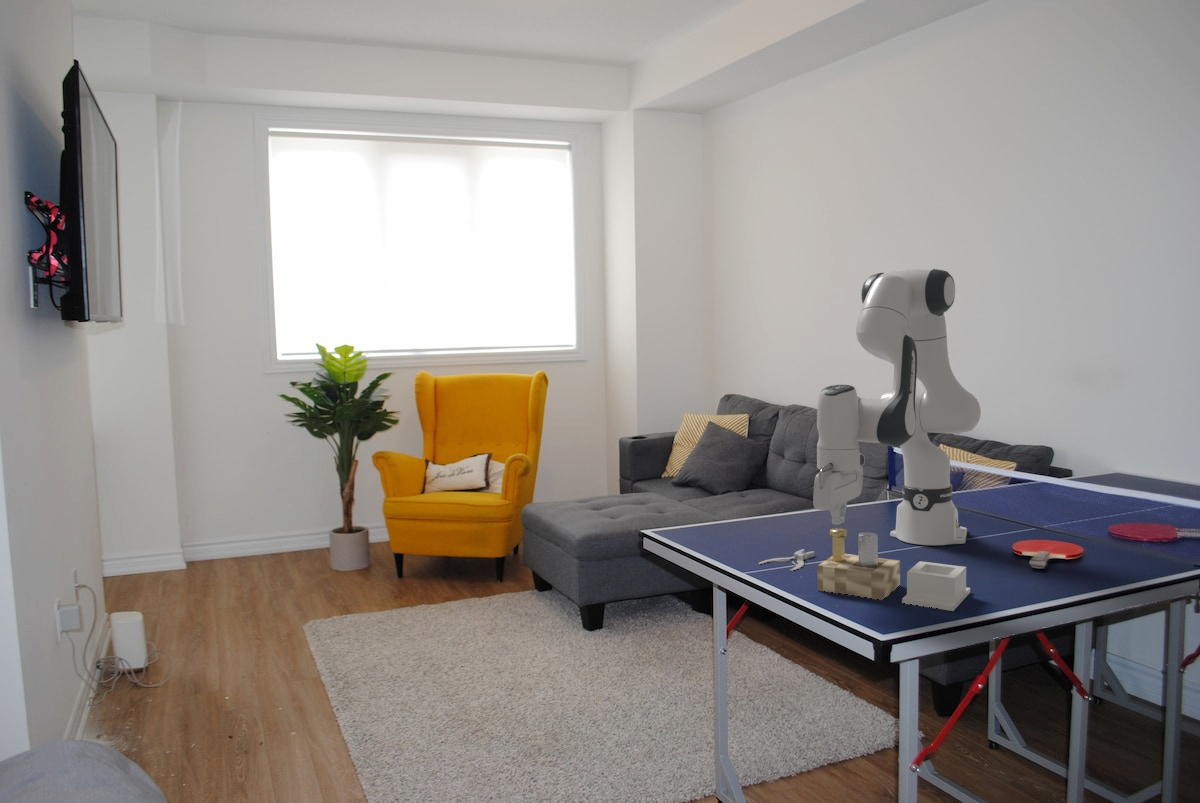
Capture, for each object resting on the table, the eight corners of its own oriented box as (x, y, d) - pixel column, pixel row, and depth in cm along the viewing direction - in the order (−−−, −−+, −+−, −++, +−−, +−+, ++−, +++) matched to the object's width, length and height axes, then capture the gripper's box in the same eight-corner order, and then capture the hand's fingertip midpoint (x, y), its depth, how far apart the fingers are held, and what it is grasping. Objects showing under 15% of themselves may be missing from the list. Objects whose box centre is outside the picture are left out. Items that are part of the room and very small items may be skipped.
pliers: (757, 559, 217) (791, 547, 227) (757, 566, 217) (791, 553, 228) (792, 566, 210) (826, 553, 221) (792, 573, 210) (826, 559, 221)
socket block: (837, 576, 205) (837, 552, 204) (900, 585, 197) (900, 560, 196) (817, 590, 195) (817, 565, 195) (882, 600, 187) (882, 574, 187)
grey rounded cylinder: (862, 585, 198) (861, 531, 197) (880, 588, 195) (880, 533, 194) (855, 590, 194) (855, 535, 193) (874, 593, 192) (874, 537, 191)
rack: (921, 585, 196) (921, 558, 196) (970, 592, 191) (970, 564, 190) (902, 603, 185) (902, 574, 184) (953, 611, 179) (953, 581, 179)
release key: (833, 564, 201) (833, 527, 200) (849, 566, 199) (849, 529, 198) (827, 567, 198) (827, 531, 197) (843, 570, 196) (843, 532, 195)
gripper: (834, 468, 186) (834, 534, 187) (867, 455, 203) (867, 516, 204) (805, 466, 189) (805, 531, 191) (840, 453, 206) (840, 513, 207)
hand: (838, 523), depth 197 cm, fingers closed
